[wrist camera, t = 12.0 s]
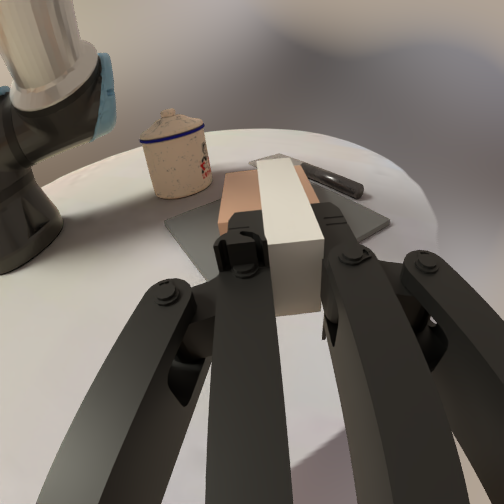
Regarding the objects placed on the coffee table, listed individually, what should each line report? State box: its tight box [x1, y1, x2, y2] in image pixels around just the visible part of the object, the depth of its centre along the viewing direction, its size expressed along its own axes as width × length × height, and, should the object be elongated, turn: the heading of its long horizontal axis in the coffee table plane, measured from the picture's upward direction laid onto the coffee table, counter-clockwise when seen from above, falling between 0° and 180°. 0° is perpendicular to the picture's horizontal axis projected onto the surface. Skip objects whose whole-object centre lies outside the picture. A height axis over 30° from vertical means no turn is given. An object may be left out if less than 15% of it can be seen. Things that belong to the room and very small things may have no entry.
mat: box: [164, 182, 390, 282], centre depth 30 cm, size 18×16×1 cm
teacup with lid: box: [140, 109, 212, 199], centre depth 39 cm, size 12×9×12 cm
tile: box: [218, 165, 320, 236], centre depth 30 cm, size 3×9×12 cm
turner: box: [249, 154, 364, 199], centre depth 39 cm, size 20×6×2 cm, turn 31°
